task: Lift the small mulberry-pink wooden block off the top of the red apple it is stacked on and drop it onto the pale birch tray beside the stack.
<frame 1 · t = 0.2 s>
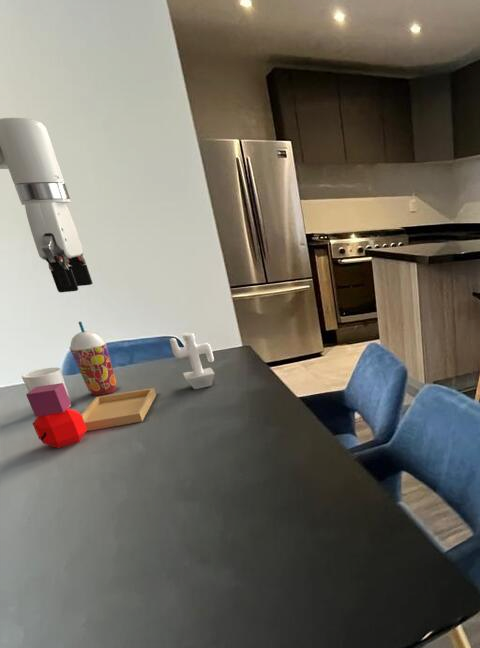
hand: (76, 288, 98), 32 cm above the table, tool pointing down, fingers open, 9 cm apart
pink block: (53, 410, 104), point 8 cm above the table, touching red apple
figurine: (202, 386, 139), on the table
red apple: (67, 443, 107), on the table, touching pink block
white cup: (56, 409, 128), on the table
smoothie: (104, 392, 138), on the table
tray: (119, 412, 123), on the table
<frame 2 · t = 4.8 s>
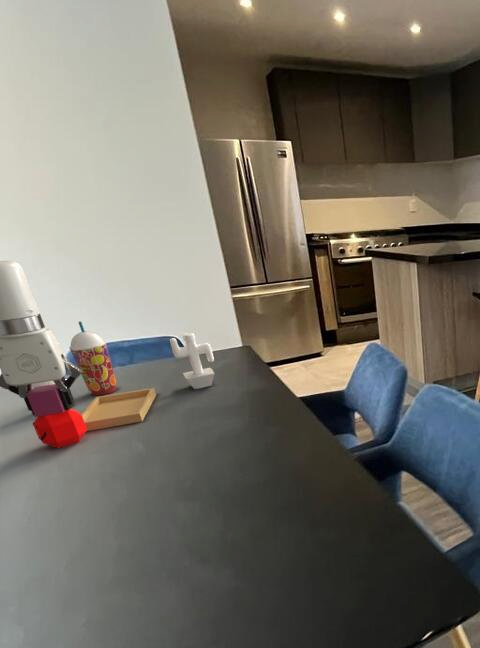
hand: (53, 409, 104), 8 cm above the table, tool pointing down, fingers closed on pink block, 5 cm apart
pink block: (53, 410, 104), point 8 cm above the table, touching gripper, red apple
everything else where it was.
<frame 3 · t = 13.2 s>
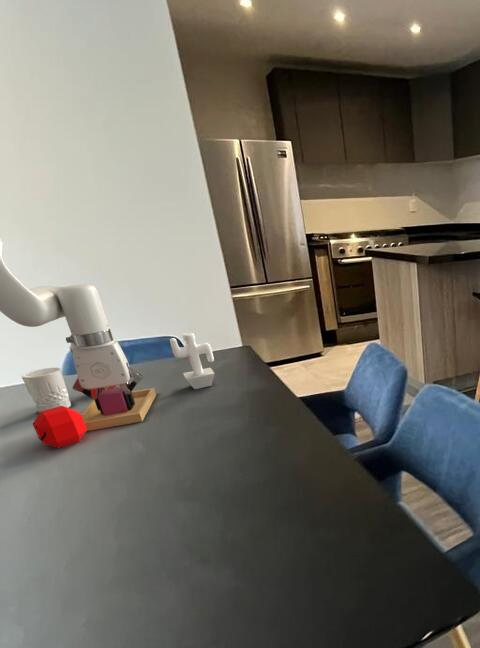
hand: (117, 409, 122), 1 cm above the table, tool pointing down, fingers closed on pink block, 5 cm apart
pink block: (118, 410, 122), point 1 cm above the table, touching gripper
red apple: (67, 443, 107), on the table
everything else where it was.
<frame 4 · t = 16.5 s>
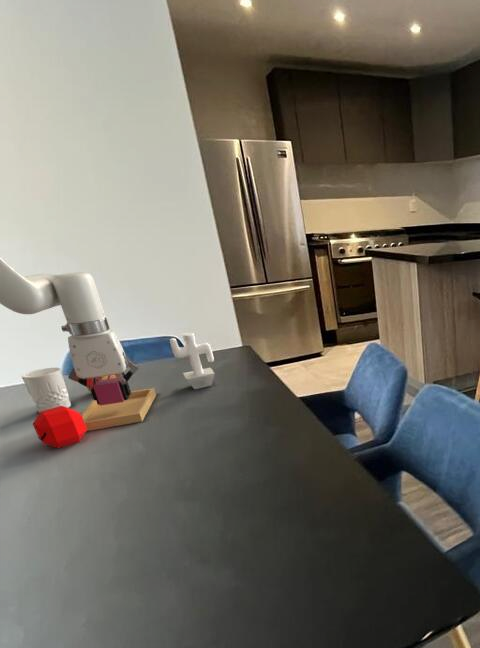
hand: (114, 399, 121), 3 cm above the table, tool pointing down, fingers closed on pink block, 4 cm apart
pink block: (114, 400, 121), point 3 cm above the table, touching gripper
everything else where it was.
when the fingers open (4 cm above the table, at t = 28.3 s): pink block drops 3 cm, resting on tray.
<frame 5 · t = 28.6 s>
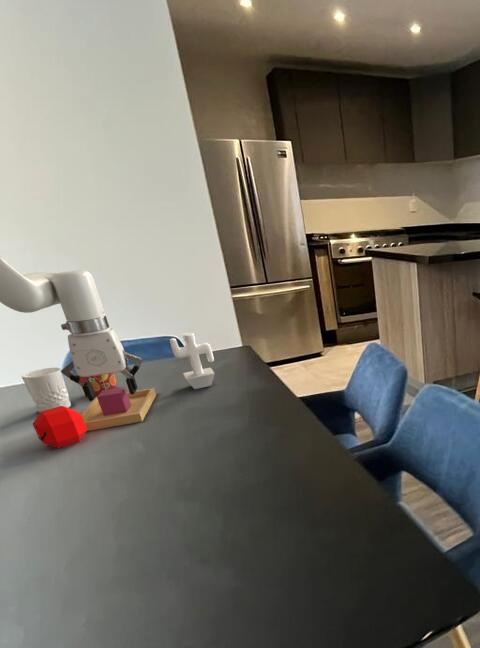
hand: (113, 395, 121), 5 cm above the table, tool pointing down, fingers open, 8 cm apart
pink block: (117, 410, 122), point 1 cm above the table, touching tray
everything else where it was.
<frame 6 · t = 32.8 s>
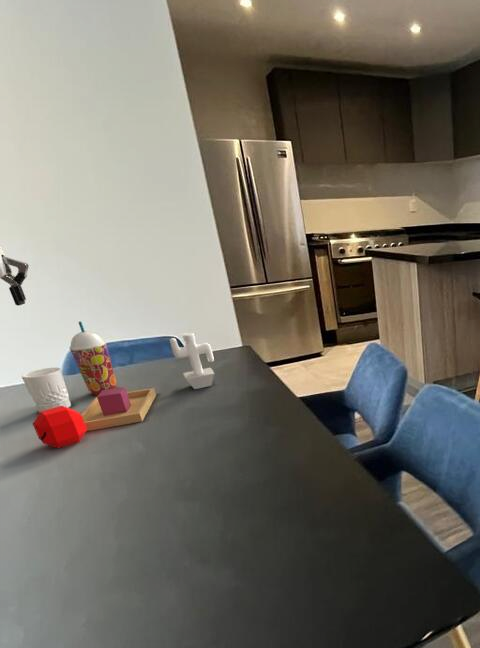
nothing on the table moved.
at the end: pink block inside the target area in the tray (0.2 cm from its centre), point 0.6 cm above the tray's base; the gripper is holding nothing; red apple moved 0.2 cm from its start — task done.
